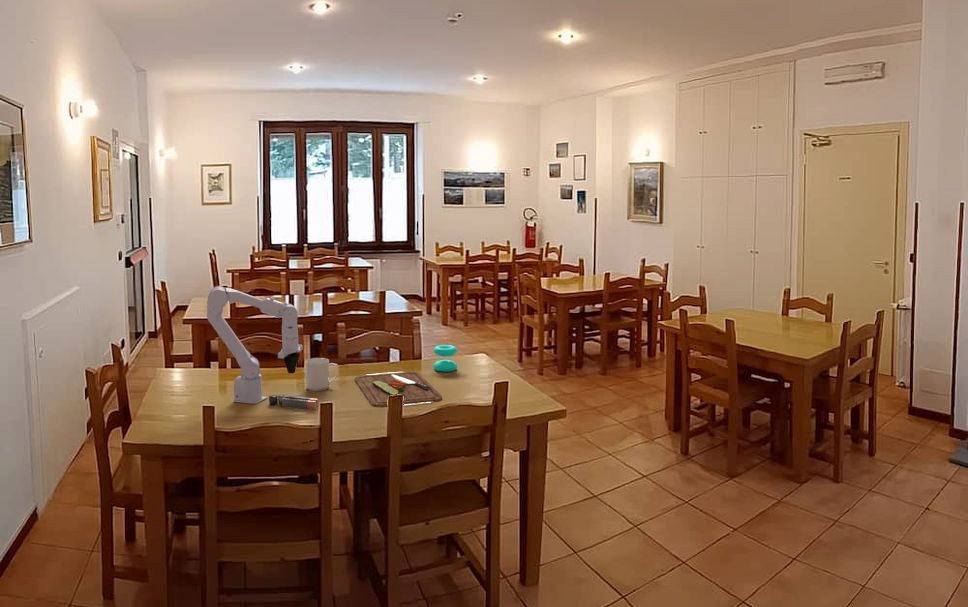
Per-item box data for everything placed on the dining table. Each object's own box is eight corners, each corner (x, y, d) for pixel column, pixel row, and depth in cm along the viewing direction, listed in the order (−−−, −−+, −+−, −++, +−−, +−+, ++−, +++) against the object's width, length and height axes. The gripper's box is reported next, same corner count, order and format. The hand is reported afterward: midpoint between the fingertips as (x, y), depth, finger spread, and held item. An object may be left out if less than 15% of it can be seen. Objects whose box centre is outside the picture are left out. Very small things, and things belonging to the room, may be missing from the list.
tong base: (267, 405, 272) (267, 397, 271) (272, 402, 275) (271, 394, 274) (315, 410, 267) (314, 402, 266) (319, 407, 270) (318, 399, 269)
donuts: (458, 349, 317) (435, 350, 315) (458, 372, 319) (435, 373, 317) (455, 343, 327) (432, 344, 325) (455, 366, 328) (432, 366, 327)
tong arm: (277, 404, 272) (276, 396, 271) (280, 402, 274) (280, 394, 274) (316, 408, 268) (316, 400, 267) (319, 406, 270) (319, 398, 269)
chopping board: (352, 377, 310) (352, 370, 310) (415, 372, 319) (415, 365, 319) (374, 410, 268) (374, 402, 268) (446, 403, 277) (446, 395, 277)
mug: (305, 392, 288) (304, 363, 286) (307, 385, 297) (306, 358, 295) (337, 390, 290) (336, 362, 288) (337, 384, 299) (337, 357, 297)
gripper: (289, 342, 270) (291, 378, 272) (309, 333, 283) (310, 368, 286) (272, 340, 271) (273, 377, 274) (292, 332, 285) (294, 367, 288)
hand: (291, 372), depth 280 cm, fingers closed
